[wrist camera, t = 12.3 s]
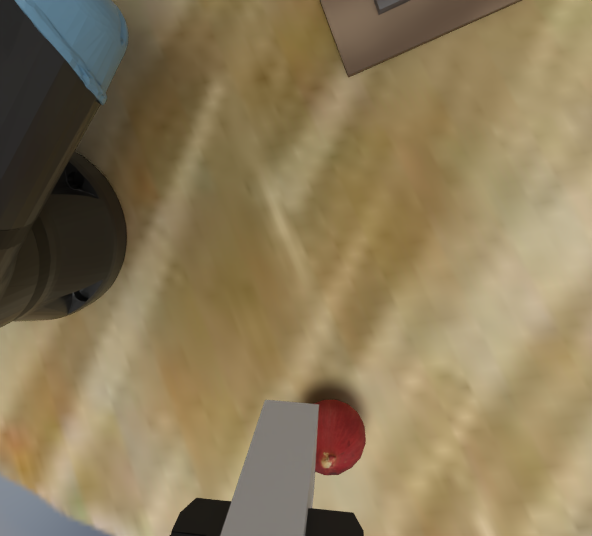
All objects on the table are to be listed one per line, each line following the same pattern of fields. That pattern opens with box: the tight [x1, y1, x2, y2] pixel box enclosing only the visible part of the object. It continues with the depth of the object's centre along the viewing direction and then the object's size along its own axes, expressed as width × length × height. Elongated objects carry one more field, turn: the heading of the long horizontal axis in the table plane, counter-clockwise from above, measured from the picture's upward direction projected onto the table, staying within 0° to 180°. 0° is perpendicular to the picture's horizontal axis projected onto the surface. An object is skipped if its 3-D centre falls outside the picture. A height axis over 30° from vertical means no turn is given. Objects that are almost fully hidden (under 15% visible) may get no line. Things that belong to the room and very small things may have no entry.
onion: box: [314, 399, 366, 475], centre depth 42 cm, size 6×6×8 cm
